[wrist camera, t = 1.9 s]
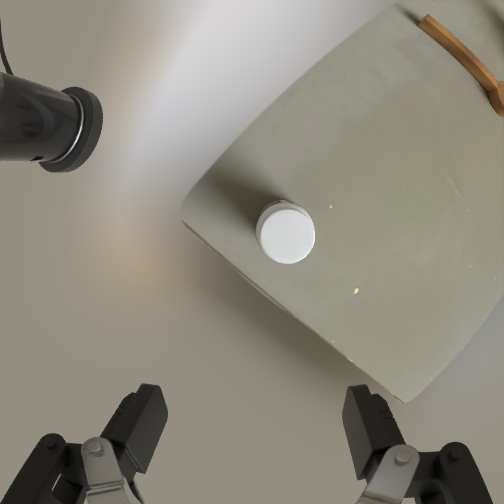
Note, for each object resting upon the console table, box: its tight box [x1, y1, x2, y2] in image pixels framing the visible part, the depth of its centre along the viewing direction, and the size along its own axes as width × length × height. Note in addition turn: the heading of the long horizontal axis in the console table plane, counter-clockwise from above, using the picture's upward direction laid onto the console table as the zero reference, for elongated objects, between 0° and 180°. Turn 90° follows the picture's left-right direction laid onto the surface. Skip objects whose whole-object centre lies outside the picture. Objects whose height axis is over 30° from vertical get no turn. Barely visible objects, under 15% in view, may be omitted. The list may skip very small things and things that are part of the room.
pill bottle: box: [256, 200, 315, 264], centre depth 23 cm, size 5×5×8 cm
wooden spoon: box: [418, 14, 504, 117], centre depth 20 cm, size 19×5×2 cm, turn 59°
